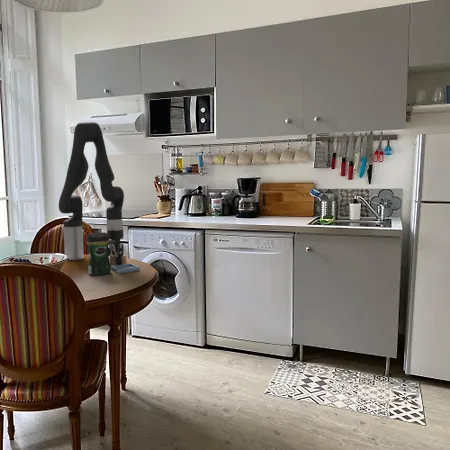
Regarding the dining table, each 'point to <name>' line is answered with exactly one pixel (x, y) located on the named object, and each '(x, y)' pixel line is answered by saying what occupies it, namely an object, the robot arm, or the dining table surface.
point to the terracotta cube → (124, 259)
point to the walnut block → (114, 260)
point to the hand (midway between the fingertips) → (116, 263)
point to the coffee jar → (98, 253)
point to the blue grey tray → (125, 268)
